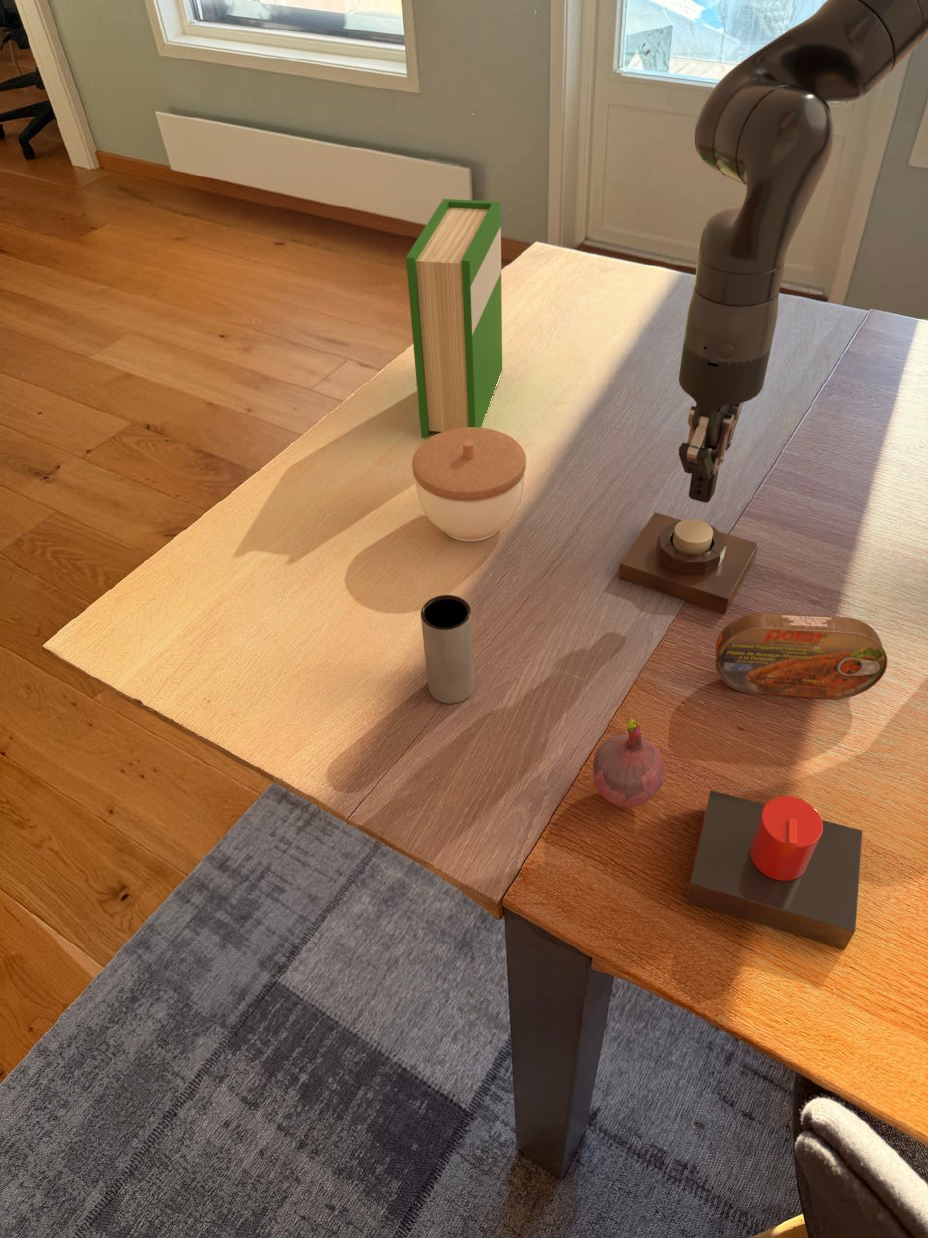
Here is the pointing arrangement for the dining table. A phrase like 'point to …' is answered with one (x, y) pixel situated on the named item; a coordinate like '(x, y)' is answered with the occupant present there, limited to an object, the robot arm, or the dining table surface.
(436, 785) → the dining table surface
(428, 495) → the lidded bowl
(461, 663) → the planter
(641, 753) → the vegetable
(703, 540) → the button
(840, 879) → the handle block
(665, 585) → the button housing
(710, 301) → the robot arm
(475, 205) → the hardback book
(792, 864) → the dial knob
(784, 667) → the tin
